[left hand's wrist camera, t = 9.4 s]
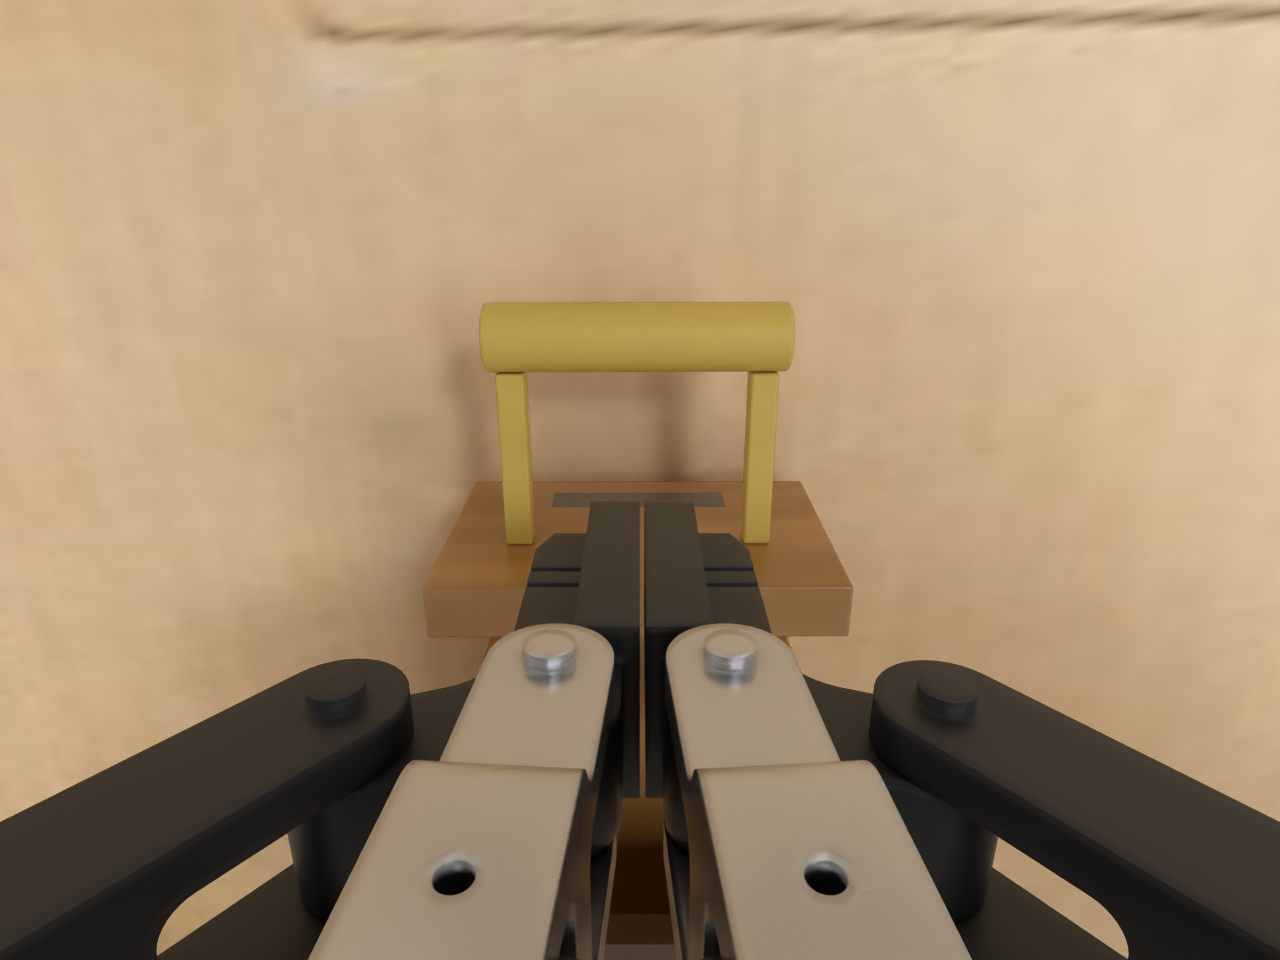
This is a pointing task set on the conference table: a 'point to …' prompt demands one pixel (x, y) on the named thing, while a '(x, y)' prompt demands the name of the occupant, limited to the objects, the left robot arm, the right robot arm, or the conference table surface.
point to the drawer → (636, 499)
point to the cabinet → (639, 937)
